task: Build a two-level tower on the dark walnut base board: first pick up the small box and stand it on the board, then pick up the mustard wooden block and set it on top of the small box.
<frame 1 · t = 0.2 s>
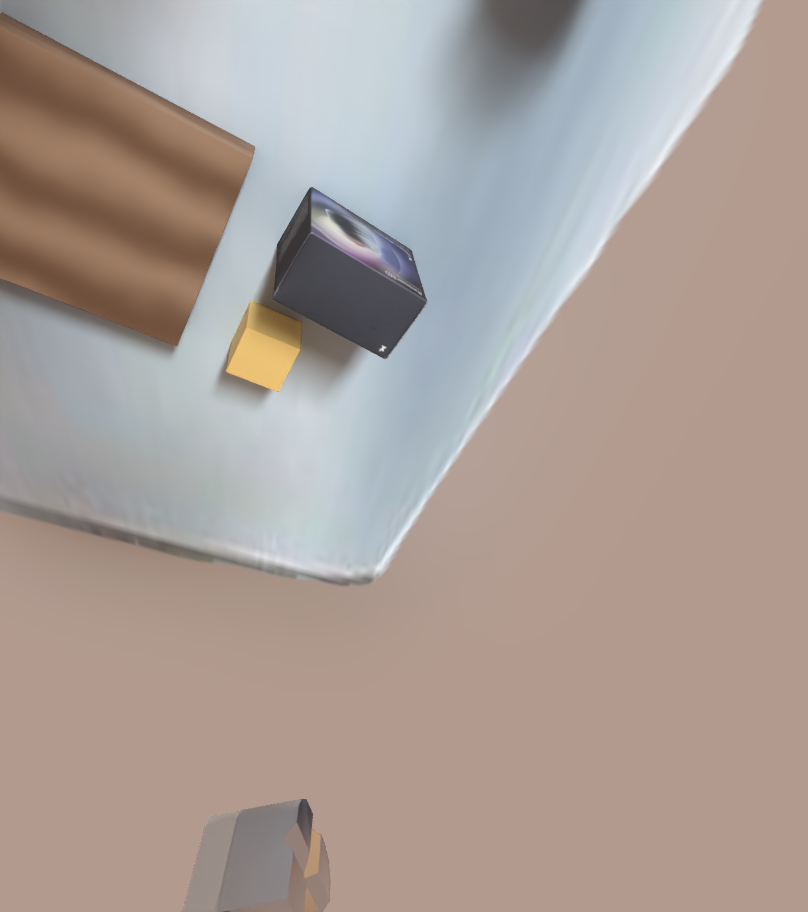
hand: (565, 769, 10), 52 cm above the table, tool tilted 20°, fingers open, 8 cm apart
mustard block: (265, 332, 62), on the table
small box: (346, 245, 58), on the table
base board: (106, 195, 53), on the table
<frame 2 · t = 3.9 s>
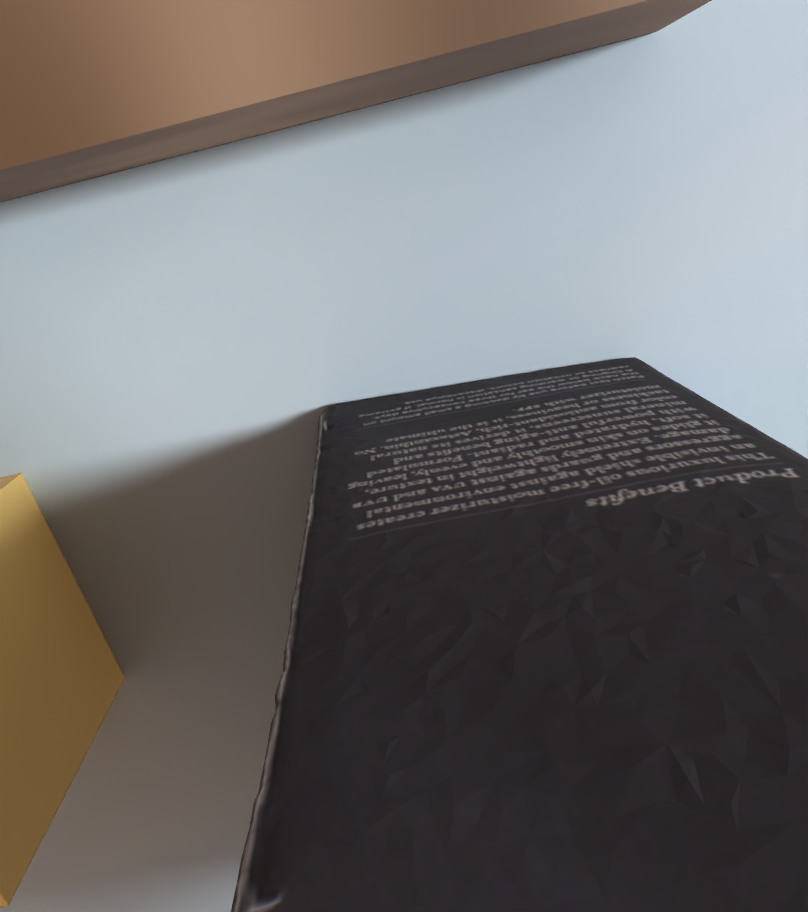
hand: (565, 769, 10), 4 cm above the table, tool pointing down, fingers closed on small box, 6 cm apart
small box: (510, 605, 14), on the table, touching gripper
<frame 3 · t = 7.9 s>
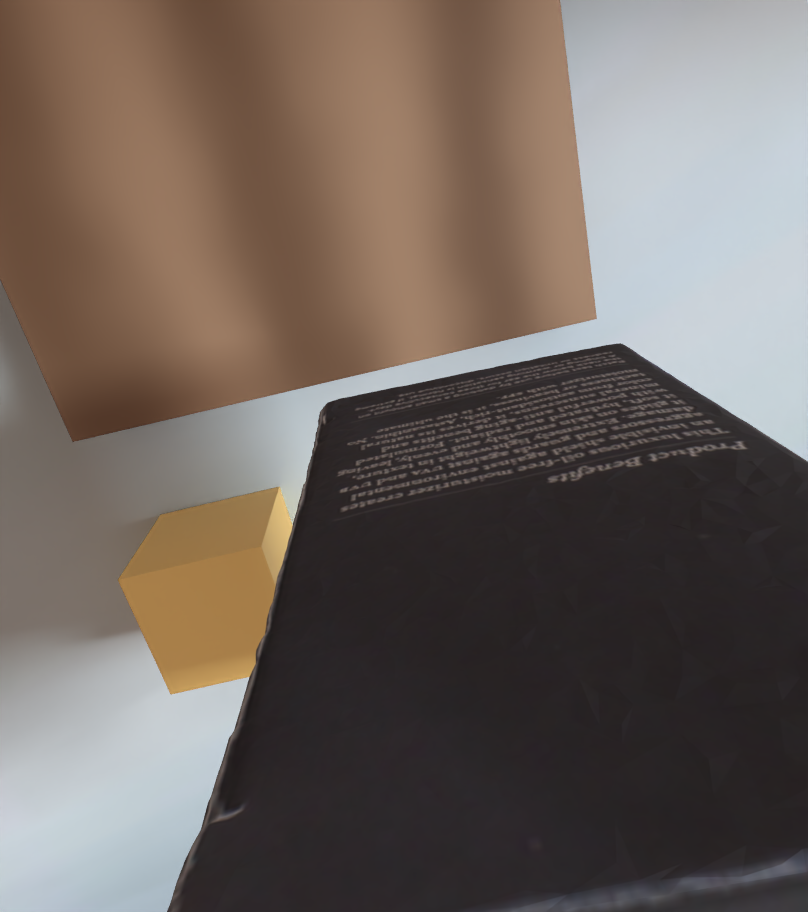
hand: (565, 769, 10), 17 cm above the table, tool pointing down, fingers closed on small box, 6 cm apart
mustard block: (239, 552, 28), on the table
small box: (513, 587, 15), point 12 cm above the table, touching gripper
base board: (263, 95, 21), on the table
when the fingers open (9 cm above the table, at t = 12.0 s): small box stays where it is, resting on base board.
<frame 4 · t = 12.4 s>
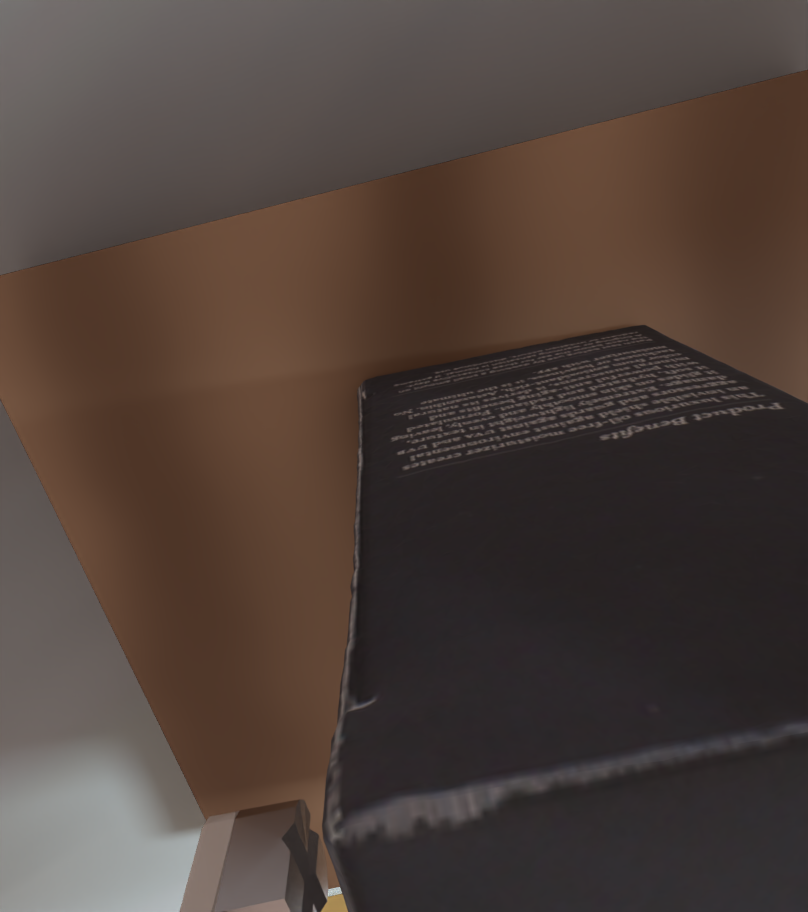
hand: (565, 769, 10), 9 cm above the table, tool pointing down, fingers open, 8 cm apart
small box: (535, 561, 15), point 3 cm above the table, touching base board, gripper
base board: (476, 520, 18), on the table
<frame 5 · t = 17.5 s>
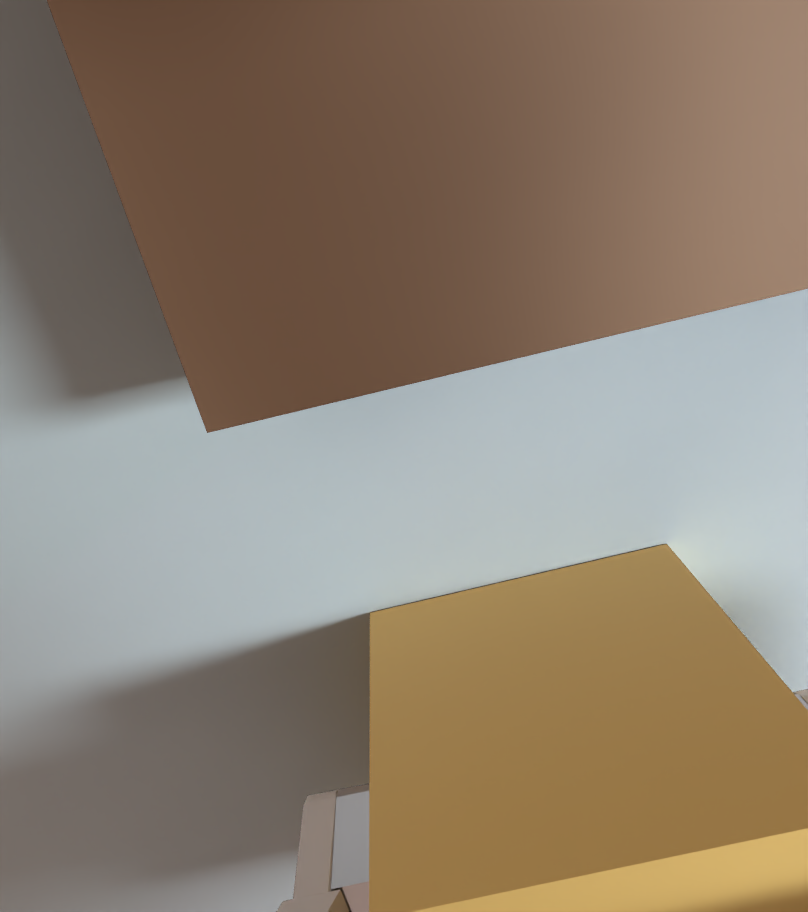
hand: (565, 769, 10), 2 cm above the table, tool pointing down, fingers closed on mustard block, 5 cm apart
mustard block: (540, 694, 12), on the table, touching gripper
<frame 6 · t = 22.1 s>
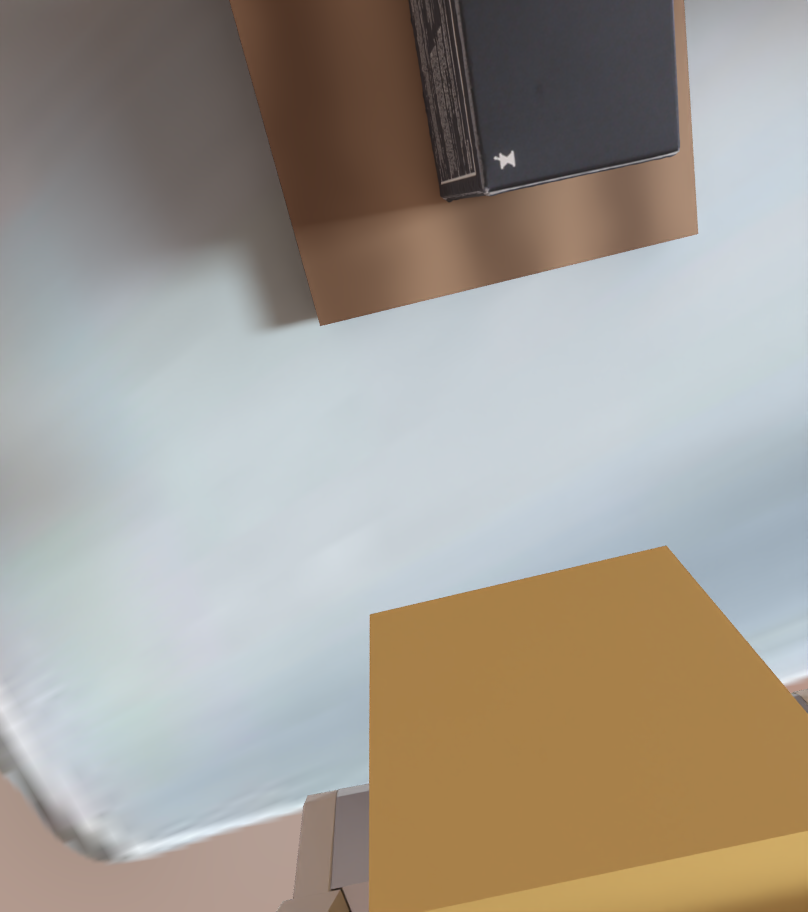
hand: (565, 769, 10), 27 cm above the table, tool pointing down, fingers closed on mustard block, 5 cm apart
mustard block: (540, 696, 12), point 25 cm above the table, touching gripper
small box: (493, 54, 27), point 3 cm above the table, touching base board
base board: (461, 76, 30), on the table
when the fingers open (16 cm above the table, at t = 26.7 s): mustard block stays where it is, resting on small box.
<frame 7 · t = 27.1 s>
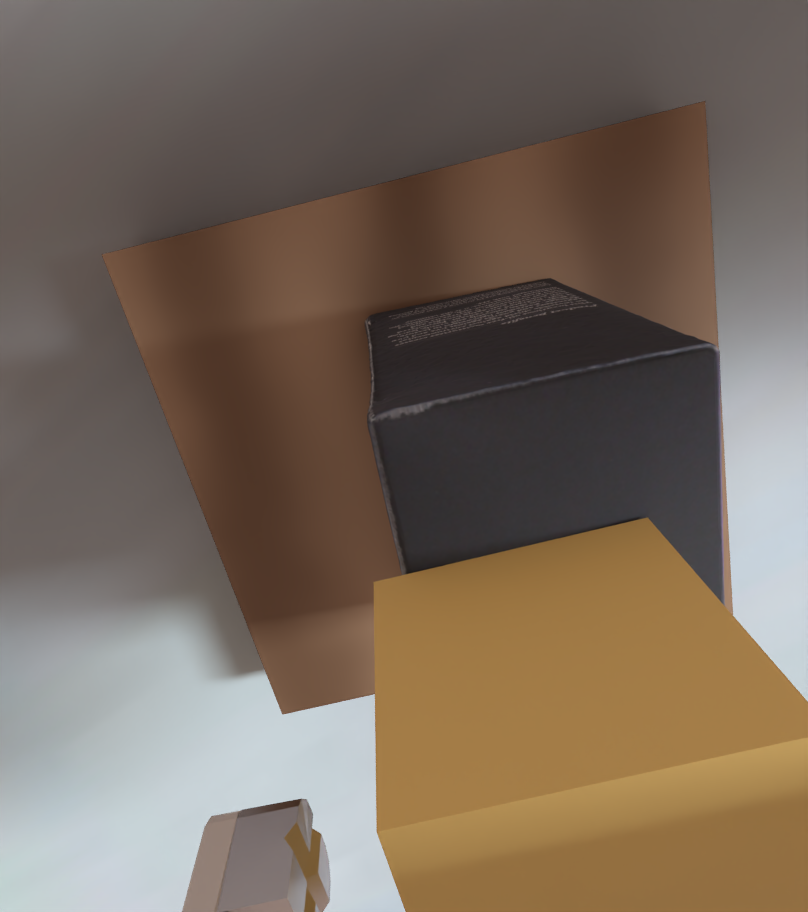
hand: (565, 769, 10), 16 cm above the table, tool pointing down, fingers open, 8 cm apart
mustard block: (532, 660, 13), point 13 cm above the table, touching small box
small box: (486, 445, 22), point 3 cm above the table, touching base board, mustard block
base board: (449, 429, 25), on the table
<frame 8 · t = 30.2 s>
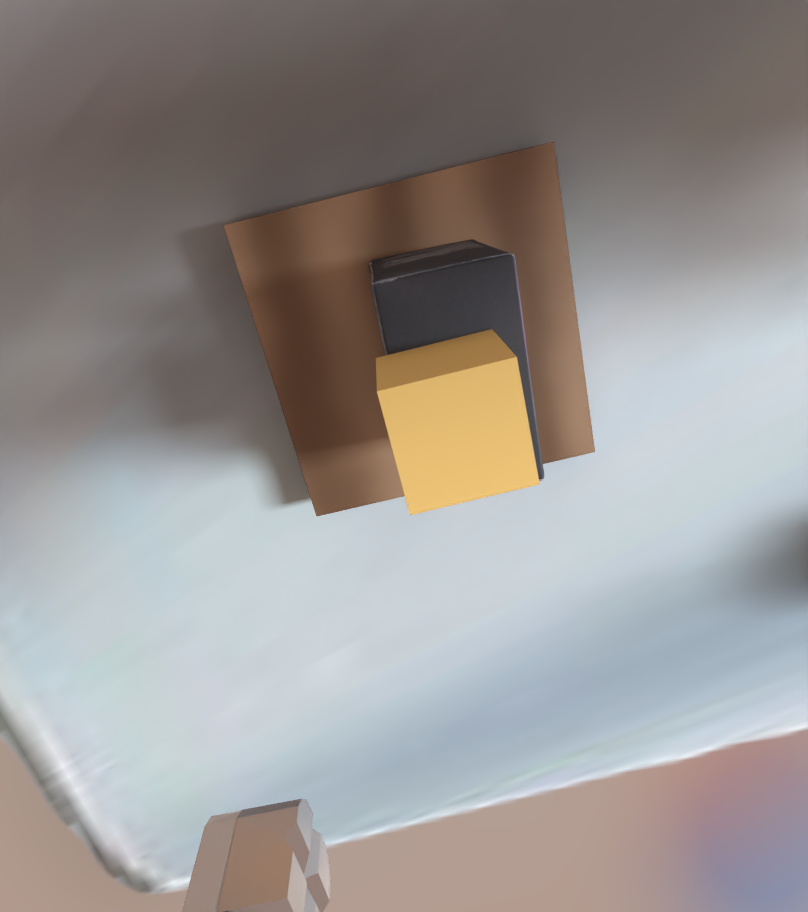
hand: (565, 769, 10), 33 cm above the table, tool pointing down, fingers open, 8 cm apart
mustard block: (446, 399, 28), point 13 cm above the table, touching small box
small box: (439, 340, 38), point 3 cm above the table, touching base board, mustard block
base board: (420, 336, 41), on the table
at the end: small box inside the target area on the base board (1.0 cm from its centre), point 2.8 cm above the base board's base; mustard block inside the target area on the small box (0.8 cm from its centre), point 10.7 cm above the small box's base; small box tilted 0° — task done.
